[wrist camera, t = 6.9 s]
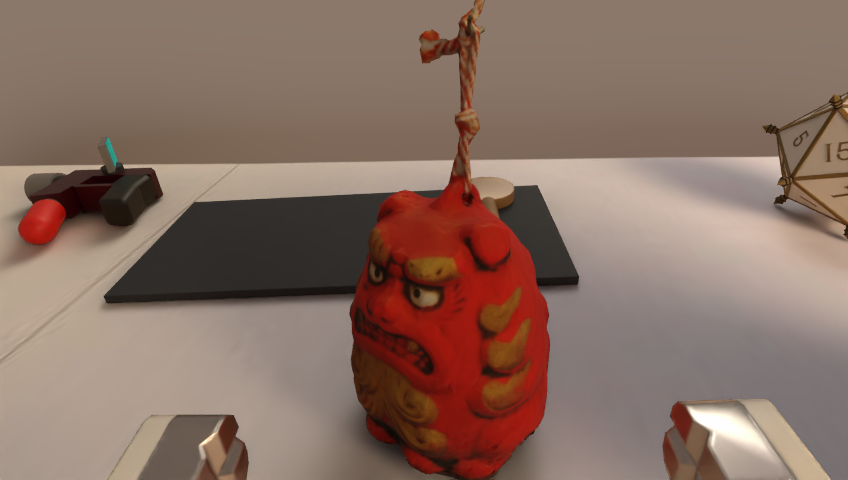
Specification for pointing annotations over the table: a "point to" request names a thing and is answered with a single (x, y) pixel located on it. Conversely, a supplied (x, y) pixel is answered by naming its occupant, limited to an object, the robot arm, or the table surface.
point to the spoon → (494, 192)
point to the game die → (816, 160)
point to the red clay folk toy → (450, 315)
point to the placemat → (301, 247)
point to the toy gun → (87, 195)
